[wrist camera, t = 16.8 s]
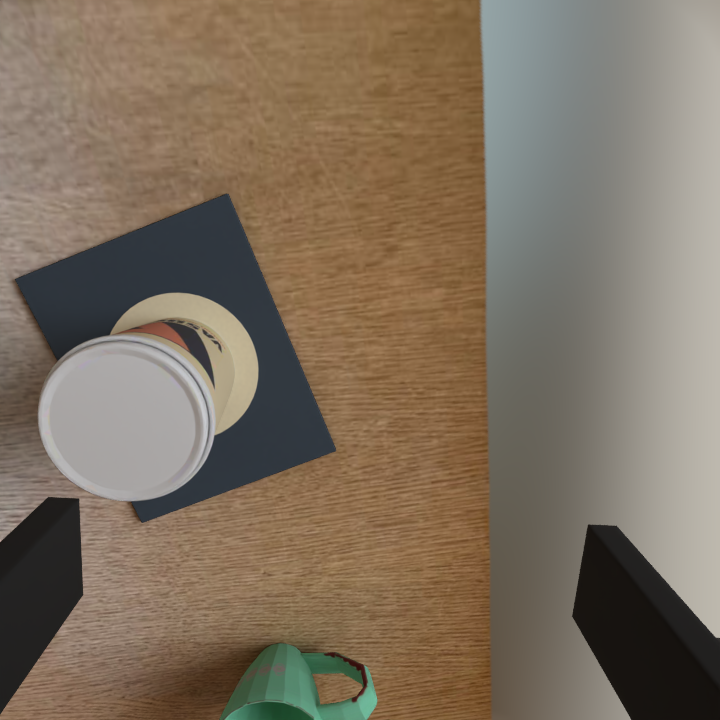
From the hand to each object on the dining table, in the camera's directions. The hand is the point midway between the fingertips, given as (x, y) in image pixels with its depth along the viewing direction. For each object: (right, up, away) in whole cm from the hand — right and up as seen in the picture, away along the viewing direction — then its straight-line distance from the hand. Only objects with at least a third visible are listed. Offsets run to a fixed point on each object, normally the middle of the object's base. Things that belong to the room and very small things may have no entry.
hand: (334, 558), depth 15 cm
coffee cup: (-12, +5, +28) cm, 31 cm away
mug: (-4, -19, +34) cm, 39 cm away
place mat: (-12, +5, +28) cm, 31 cm away
